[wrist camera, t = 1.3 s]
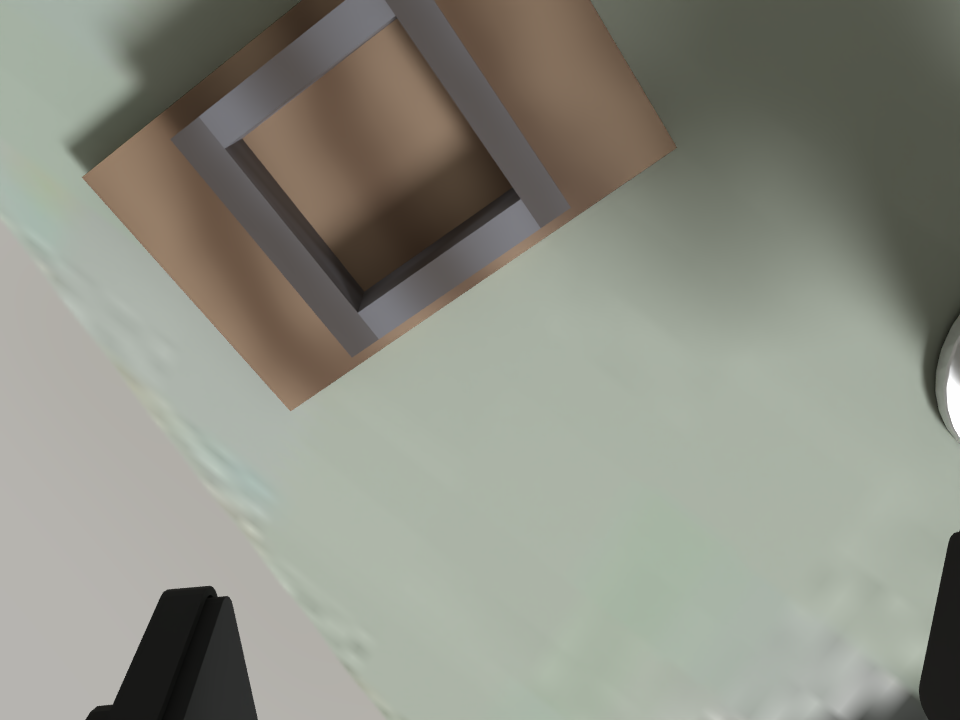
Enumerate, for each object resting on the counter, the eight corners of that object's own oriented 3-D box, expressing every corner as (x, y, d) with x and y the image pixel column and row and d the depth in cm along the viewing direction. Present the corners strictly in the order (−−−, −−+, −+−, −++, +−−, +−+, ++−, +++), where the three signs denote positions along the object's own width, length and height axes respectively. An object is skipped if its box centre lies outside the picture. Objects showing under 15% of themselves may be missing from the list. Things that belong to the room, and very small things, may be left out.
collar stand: (495, -150, 33) (501, -174, 29) (668, 142, 38) (696, 158, 33) (95, 171, 37) (51, 190, 33) (295, 398, 42) (278, 440, 38)
